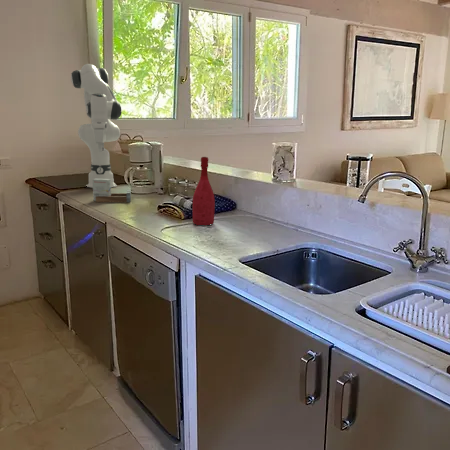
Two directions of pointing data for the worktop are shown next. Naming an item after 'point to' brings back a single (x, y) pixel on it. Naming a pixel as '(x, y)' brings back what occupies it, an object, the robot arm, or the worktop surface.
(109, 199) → the guide channel
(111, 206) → the worktop surface
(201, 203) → the wine bottle
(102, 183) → the ink box
